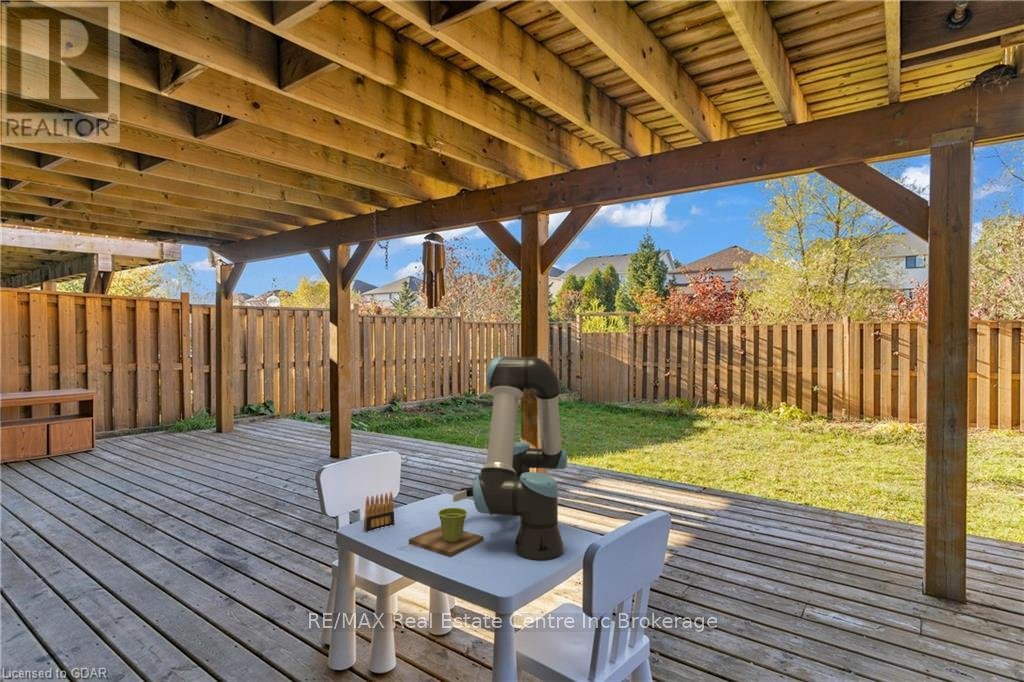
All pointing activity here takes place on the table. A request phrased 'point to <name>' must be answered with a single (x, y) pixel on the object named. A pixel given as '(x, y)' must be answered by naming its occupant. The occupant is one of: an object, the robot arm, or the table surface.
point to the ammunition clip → (379, 513)
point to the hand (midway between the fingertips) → (468, 501)
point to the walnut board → (445, 542)
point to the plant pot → (452, 523)
